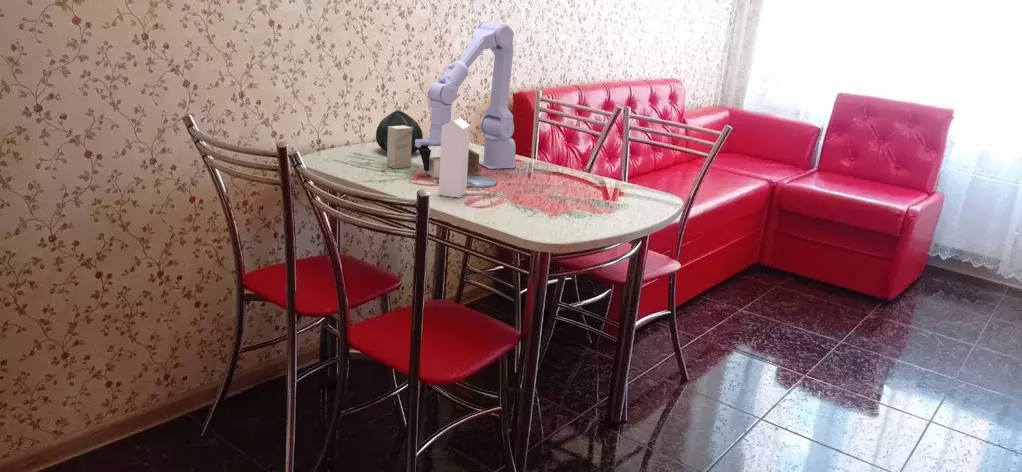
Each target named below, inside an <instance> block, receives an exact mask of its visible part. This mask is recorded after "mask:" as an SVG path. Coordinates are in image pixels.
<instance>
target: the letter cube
mask: <svg viewBox="0 0 1022 472" xmlns="http://www.w3.org/2000/svg"><path fill="white" fill-rule="evenodd" d="M427 175H429V176H431V177H432V178H434V179H436V178H438V177H439V176H440V156H430V159H429V172H427Z"/></svg>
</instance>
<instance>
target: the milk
mask: <svg viewBox="0 0 1022 472" xmlns="http://www.w3.org/2000/svg"><path fill="white" fill-rule="evenodd" d="M470 129H471V125H470V124H469V123H468V122H466V121H465V120H464V119H463V118H461V112H460V111H459V112H457V113H455V114H453V115H452V120H451V122H449V123H447V124H445V125H443V126H442V132H441V146H440V154H439V155H440V156H439V157H440V176H439V179H438V180H439V183H438V196H439V195H443V196H442V197H445V196H451V197H450V198H452V197H459V198H458V199H461V198H462V197H463V196H465V195H466V194H467V188H466V187H467V170H468V153H469V149H470V148H469V147H470V135H471V134H470V133H471V130H470ZM465 193H466V194H465ZM462 195H463V196H462ZM461 196H462V197H461ZM460 197H461V198H460Z"/></svg>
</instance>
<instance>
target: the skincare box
mask: <svg viewBox="0 0 1022 472" xmlns="http://www.w3.org/2000/svg"><path fill="white" fill-rule="evenodd" d="M411 149H412V127H408V126H405V125H402V126H388V145H387V151H386V155H387V156H386V166H387V167H389V168H392V169H402V168H403V169H404V168H410V167H411V166H412V154H411Z"/></svg>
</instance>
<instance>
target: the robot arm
mask: <svg viewBox="0 0 1022 472" xmlns="http://www.w3.org/2000/svg"><path fill="white" fill-rule="evenodd" d="M514 35H515V32H514V30H513V29H512V28H511V26H510V25H508V24H506V23H496V22H491V21H490V22H489V21H485V20H484V21H480V22H479V24H478V25H477V27H476V28H475V29H474V30H473V37H472V39H471V40H470V41H469V43H468V45H467V47H466V48H465V50H464V51H463V53H462V55H461V56H460V57H459V59H458V60H456V61H452V62H451V63H449V64H448V65H447V66H448V67H447V69H446V70H445V71H444V73H443V74H442V75H441V76H440V78H439V79H438V81H434V82H433V83H432V84H430V86H429V89H428V91H427V97H428V100H429V101H430V102H429V104H430V107H431V108H430V109H431V113H430V129H429V130H430V133H429V135H430V137H428V138H423V139H415V146H416V147H417V148H418V150H417V151H418V153H419V155H420V157H421V161H422V164H423V170H424V171H425V172H429V159H430V157H431V153H432V150H431V149H430V147H441V132H442V126H443V125H445V124H447V123H449V122H451V121H452V120H451V119H452V104H453V103H454V102H455V101H456V100H457V95H458V91H459V88H460V87H461V85H462V84H463V82H464V81H465V80H466V78H467V77H468V76H469V68H470V67H471V65H472V64H474V62H475V61H476V59H478V58H479V56H480V55H481V54H482V53H483V51H484V50H489V49H490V51H491V52H492V53H493V55H494V61H493V62H494V63H493V70H492V81H491V91H490V92H491V93H490V101H489V107H487V108H486V109H485V110H484V111H483V116H482V119H481V121H480V131H481V133H482V134H483V137H484V146H483V147H484V149H483V161H479V165H481V166H482V167H485V168H486V169H488V170H494V169H495V170H497V169H515V168H516V165H515V160H516V158H515V157H516V142H515V140H514V138H512V136H513V134H514V132H515V125H514V114H513V113H512V112H511V111H510V110H509V108H508V105H509V96H510V95H509V94H510V89H511V88H510V87H511V78H512V77H511V76H512V70H513V69H512V68H513V58H514V45H513V44H514Z"/></svg>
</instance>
